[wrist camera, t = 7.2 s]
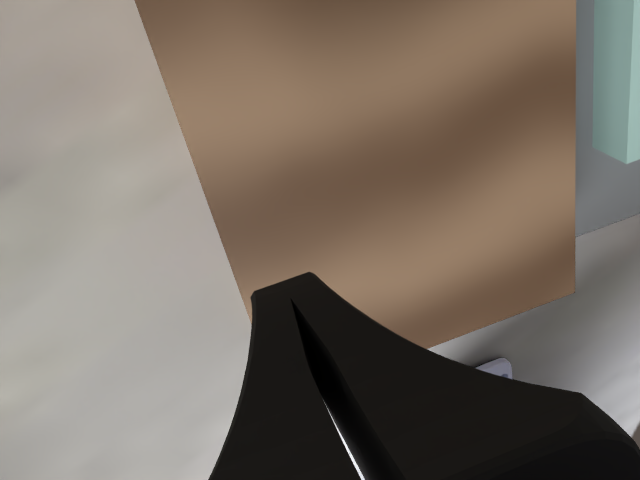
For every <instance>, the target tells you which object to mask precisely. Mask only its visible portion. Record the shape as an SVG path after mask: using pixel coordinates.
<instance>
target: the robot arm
mask: <svg viewBox="0 0 640 480" xmlns="http://www.w3.org/2000/svg"><path fill="white" fill-rule="evenodd" d="M250 298H251V303H252V329H251V339H250V347H249V355H248V361H247V366H246V371H245V375H244V380H243V385H242V389H241V393H240V397H239V401H238V404H237V408H236V411H235V414H234V417H233V420H232V423H231V427H230V429H229V432H228V435H227V437H226V440H225V442H224V445H223V448H222V450H221V453H220V455H219V458H218V460H217V462H216V465H215V467H214V469H213V471H212V473H211V475H210V477H209V479H208V480H361V478H360V476H359V474H358V472H357V470H356V468H355V466H354V464H353V462H352V460H351V458H350V456H349V454H348V452H347V450H346V448H345V446H344V444H343V442H342V440H341V437H340V435H339V433H338V431H337V429H336V427H335V425H334V423H333V420H332V418H333V419H334V421H335V423H336V425H337V427H338V429H339V431H340V433H341V435H342V436H343V438H344V440H345V442H346V444H347V446H348V448H349V450H350V452H351V454H352V455H353V457H354V459H355V461H356V463H357V465H358V467H359V469H360V471H361V472H362V474H363V476H364V478H365V480H640V449H639V447H638V446H637V444H636V443H635V441H634V440H633V439H632V438H631V437H630V436H629V435H628V434H627V433H626V432H625V431H624V430H623V429H622V428H621V427H620V426H619V425H618V424H617V423H616V422H615V421H614V420H613V419H612V418H611V417H609V416H608V415H607V414H606V413H605V412H604V411H603V410H601V409H600V408H599V407H598V406H596V405H595V404H594V403H593V402H591V401H590V400H589V399H588V398H587V397H585V396H584V395H583V394H582V393H578V392H572V391H567V390H562V389H556V388H551V387H546V386H540V385H535V384H530V383H525V382H521V381H517V380H514V379H512V366H511V364H510V362H509V361H508V360H507V359H505V358H499V359H496V360H494V361H491V362H488V363H486V364H483V365H481V366H478V367H476V368H473V367H470V366H467V365H464V364H462V363H459V362H456V361H453V360H450V359H448V358H445V357H443V356H441V355H438V354H436V353H434V352H432V351H429V350H427V349H425V348H423V347H421V346H419V345H417V344H415V343H413V342H411V341H409V340H407V339H405V338H403V337H402V336H400V335H398V334H396V333H394V332H393V331H391V330H389V329H388V328H386V327H384V326H383V325H381V324H379V323H378V322H376V321H375V320H373V319H372V318H370V317H369V316H367V315H366V314H364V313H363V312H361V311H360V310H358V309H357V308H356V307H354V306H353V305H351V304H350V303H349V302H347V301H346V300H345V299H343V298H342V297H341V296H340V295H338V294H337V293H336V292H334V291H333V290H332V289H331V288H330V287H328V286H327V285H326V284H325V283H324V282H323V281H322V280H321V279H320V278H319V277H318V276H317V275H316V274H314V273H311V272H307V273H304V274H301V275H298V276H295V277H292V278H290V279H287V280H284V281H281V282H278V283H276V284H273V285H270V286H267V287H264V288H261V289H259V290H256V291H254V292H253V294H252V295H251V297H250ZM322 398H323V399H322ZM323 400H324V401H323ZM324 402H325V403H324ZM325 404H326V405H325ZM326 406H327V407H326ZM327 408H328V409H327ZM328 410H329V412H330V414H331V416H332V418H331V416H330V414H329V412H328Z"/></svg>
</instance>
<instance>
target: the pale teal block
mask: <svg viewBox="0 0 640 480" xmlns="http://www.w3.org/2000/svg"><path fill="white" fill-rule="evenodd" d="M592 147H593V148H595V149H597V150H599V151H601V152H603V153H605V154H607V155H609V156H611V157H613V158H615V159H617V160H619V161H621V162H623V163H625V164H628V163H631V162H634V161H637V160H639V159H640V0H594V63H593V140H592Z"/></svg>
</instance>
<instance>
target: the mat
mask: <svg viewBox="0 0 640 480" xmlns="http://www.w3.org/2000/svg"><path fill="white" fill-rule="evenodd" d="M593 63H594V0H576V156H575V237H577V236H580V235H583V234H585V233H588V232H591V231H594V230H596V229H599V228H602V227H604V226H607V225H610V224H613V223H615V222H618V221H621V220H624V219H626V218H629V217H632V216H634V215H637V214H640V159H639V160H637V161H634V162H631V163H628V164H625V163H623V162H621V161H619V160H617V159H615V158H613V157H611V156H609V155H607V154H605V153H603V152H601V151H599V150H597V149H595V148H593V147H592V140H593Z"/></svg>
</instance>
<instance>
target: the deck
mask: <svg viewBox="0 0 640 480" xmlns="http://www.w3.org/2000/svg"><path fill="white" fill-rule="evenodd" d="M135 3H136V6H137V8H138V11H139V14H140V17H141V19H142V22H143V25H144V28H145V30H146V33H147V36H148V39H149V42H150V44H151V47H152V50H153V53H154V55H155V58H156V61H157V64H158V66H159V69H160V72H161V75H162V78H163V80H164V83H165V86H166V89H167V91H168V94H169V97H170V100H171V102H172V105H173V108H174V111H175V114H176V116H177V119H178V122H179V125H180V127H181V130H182V133H183V136H184V138H185V141H186V144H187V147H188V150H189V152H190V155H191V158H192V161H193V163H194V166H195V169H196V172H197V174H198V177H199V180H200V183H201V185H202V188H203V191H204V194H205V197H206V199H207V202H208V205H209V208H210V210H211V213H212V216H213V219H214V221H215V224H216V227H217V230H218V233H219V235H220V238H221V241H222V244H223V246H224V249H225V252H226V255H227V257H228V260H229V263H230V266H231V269H232V271H233V274H234V277H235V280H236V282H237V285H238V288H239V291H240V293H241V296H242V299H243V302H244V305H245V307H246V310H247V313H248V316H249V318H250V321H251V324H252V303H251V298H250V297H251V295H252V294H253V292H254V291H256V290H259V289H261V288H264V287H267V286H270V285H273V284H276V283H278V282H281V281H284V280H287V279H290V278H292V277H295V276H298V275H301V274H304V273H307V272H311V273H314V274H316V275H317V276H318V277H319V278H320V279H321V280H322V281H323V282H324V283H325V284H326V285H327V286H328V287H330V288H331V289H332V290H333V291H334V292H336V293H337V294H338V295H340V296H341V297H342V298H343V299H345V300H346V301H347V302H349V303H350V304H351V305H353V306H354V307H356V308H357V309H358V310H360V311H361V312H363V313H364V314H366V315H367V316H369V317H370V318H372V319H373V320H375V321H376V322H378V323H379V324H381V325H383V326H384V327H386V328H388V329H389V330H391V331H393V332H394V333H396V334H398V335H400V336H402V337H403V338H405V339H407V340H409V341H411V342H413V343H415V344H417V345H419V346H421V347H423V348H425V349H428V348H430V347H433V346H436V345H438V344H441V343H444V342H446V341H449V340H451V339H454V338H457V337H459V336H462V335H465V334H467V333H470V332H472V331H475V330H478V329H480V328H483V327H486V326H488V325H491V324H493V323H496V322H499V321H501V320H504V319H506V318H509V317H512V316H514V315H517V314H520V313H522V312H525V311H527V310H530V309H533V308H535V307H538V306H541V305H543V304H546V303H548V302H551V301H554V300H556V299H559V298H562V297H564V296H567V295H569V294H572V293H575V156H576V0H135Z"/></svg>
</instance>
